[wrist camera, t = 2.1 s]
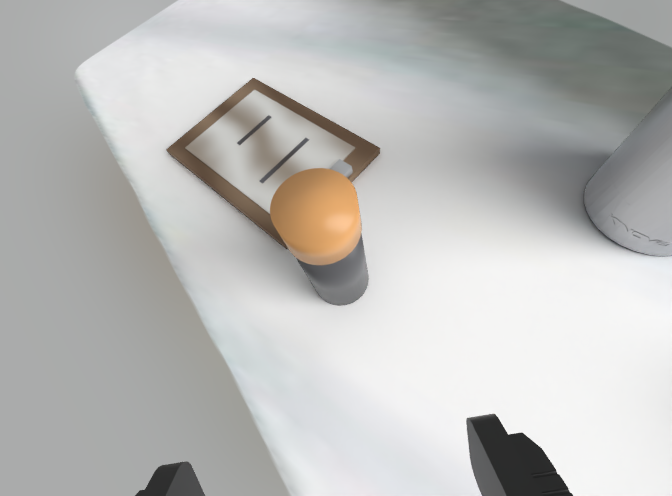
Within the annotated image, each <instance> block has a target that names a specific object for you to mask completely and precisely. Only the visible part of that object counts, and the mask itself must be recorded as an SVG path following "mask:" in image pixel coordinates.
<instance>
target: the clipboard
mask: <svg viewBox="0 0 672 496" xmlns="http://www.w3.org/2000/svg"><path fill="white" fill-rule="evenodd" d="M166 150H167V151H168V153H169V154H170V155H171V156H173V157H174V158H175V159H176V160H177V161H179V162H180V163H181V164H182V165H184V166H185V167H186V168H187V169H189V170H190V171H191V172H192V173H194V174H195V175H196V176H197V177H198V178H200V179H201V180H202V181H203V182H205V183H206V184H207V185H208V186H210V187H211V188H212V189H213V190H214V191H216V192H217V193H218V194H219V195H221V196H222V197H223V198H224V199H226V200H227V201H228V202H229V203H230V204H232V205H233V206H234V207H235V208H237V209H238V210H239V211H240V212H242V213H243V214H244V215H245V216H246V217H248V218H249V219H250V220H251V221H253V222H254V223H255V224H256V225H258V226H259V227H260V228H261V229H263V230H264V231H265V232H266V233H267V234H269V235H270V236H271V237H272V238H274V239H275V240H276V241H277V242H279V243H280V244H281V245H282V246H283V247H285V248H286V249H287V248H288V247H287V246H286V244H285V242H284V241H283V239H282V238H281V236H280V234H279V233H278V231H277V230H276V228H275V226H274V225H273V223H272V220H271V216H270V205H271V201H272V198H273V195H274V194H275V192H276V190H277V189H278V187H279V186H280V185H281V184H282V183H283V182H284V181H285V180H286V179H288V178H289V177H291V176H292V175H294V174H296V173H298V172H301V171H304V170H307V169H312V168H326V169H331V170H334V171H337V172H339V173H341V174H343V175H344V176H345V177H347V178H348V179H349V180H350V182H352V181H353V180H354V179H355V178H356V177H357V176H358V175H359V174H360V173H361V172H362V171H363V170H364V169H365V168H366V167H367V166H368V165H369V164H370V163H371V162H372V161H373V160H374V159H375V158H376V157H377V156H378V155H379V154H380V148H379V147H377V146H375V145H374V144H372V143H370V142H368V141H366V140H365V139H363V138H361V137H359V136H357V135H356V134H354V133H352V132H350V131H348V130H347V129H345V128H343V127H341V126H339V125H338V124H336V123H334V122H332V121H330V120H329V119H327V118H325V117H323V116H321V115H320V114H318V113H316V112H314V111H312V110H311V109H309V108H307V107H305V106H303V105H302V104H300V103H298V102H296V101H294V100H293V99H291V98H289V97H287V96H285V95H283V94H282V93H280V92H278V91H276V90H274V89H273V88H271V87H269V86H267V85H265V84H264V83H262V82H260V81H258V80H256V79H255V78H252V79H251V80H250V81H249V82H248V83H246V84H245V85H244V86H243V87H242V88H240V89H239V90H238V91H237V92H235V93H234V94H233V95H232V96H231V97H229V98H228V99H227V100H226V101H225V102H223V103H222V104H221V105H220V106H219V107H217V108H216V109H215V110H214V111H212V112H211V113H210V114H209V115H208V116H206V117H205V118H204V119H203V120H202V121H200V122H199V123H198V124H197V125H195V126H194V127H193V128H192V129H191V130H189V131H188V132H187V133H186V134H185V135H183V136H182V137H181V138H180V139H178V140H177V141H176V142H175V143H174V144H172V145H171V146H170V147H169V148H168V149H166Z"/></svg>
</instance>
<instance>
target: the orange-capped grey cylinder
mask: <svg viewBox="0 0 672 496" xmlns="http://www.w3.org/2000/svg"><path fill="white" fill-rule="evenodd" d="M270 216H271V220H272V223H273V225H274V226H275V228H276V230H277V231H278V233H279V234H280V236H281V238H282V239H283V241H284V242H285V244H286V246H287V247H288V249H289V250H290V252H291V253H292V254H293V255H294V256H295V257H296V259H297V260H298V262H299V264H300V265H301V267H302V268H303V270H304V272H305V273H306V275H307V276H308V278H309V280H310V281H311V283H312V285H313V286H314V288H315V289H316V291H317V293H318V294H319V296H320V297H321V298H322V299H323V300H325V301H326V302H328V303H330V304H333V305H347V304H350V303H353V302H355V301H356V300H358V299H359V298H360V297H361V296H362V295H363V294H364V292H365V290H366V288H367V285H368V271H367V265H366V259H365V253H364V246H363V240H362V234H361V230H362V225H361V218H360V212H359V206H358V199H357V194H356V190H355V188H354V186H353V184H352V183H351V182H350V180H349V179H348V178H347V177H345V176H344V175H343V174H341V173H339V172H337V171H334V170H331V169H326V168H312V169H307V170H304V171H301V172H298V173H296V174H294V175H292V176H291V177H289V178H288V179H286V180H285V181H284V182H283V183H282V184H281V185H280V186H279V187H278V189H277V190H276V192H275V194H274V195H273V198H272V201H271V205H270Z"/></svg>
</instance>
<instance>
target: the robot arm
mask: <svg viewBox="0 0 672 496" xmlns="http://www.w3.org/2000/svg"><path fill="white" fill-rule="evenodd" d="M584 203H585V207H586V211H587V213H588V215H589V217H590V219H591V220H592V222H593V223H594V224H595V225H596V226H597V228H598V229H599V230H600V231H601V232H603V233H604V234H605V235H606V236H607V237H608V238H610V239H611V240H613V241H615V242H616V243H618V244H620V245H621V246H624V247H626V248H628V249H631V250H633V251H636V252H640V253H644V254H648V255H656V256H672V87H671V88H670V89H669V90H668V91H667V93H666V94H665V95H664V96H663V97H662V98H661V99H660V101H659V102H658V103H657V104H656V105H655V106H654V107H653V109H652V110H651V111H650V112H649V113H648V114H647V115H646V116H645V118H644V119H643V120H642V121H641V122H640V123H639V124H638V126H637V127H636V128H635V129H634V130H633V131H632V132H631V134H630V135H629V136H628V137H627V138H626V139H625V140H624V142H623V143H622V144H621V145H620V146H619V147H618V148H617V149H616V150H615V151H614V153H613V154H612V155H611V156H610V157H609V158H608V159H607V161H606V162H605V163H604V164H603V165H602V166H601V167H600V169H599V170H598V171H597V172H596V173H595V174H594V175H593V177H592V178H591V179H590V181H589V182H588V183H587V186H586V189H585V191H584ZM466 422H467V432H468V442H469V452H470V460H471V465H472V469H473V472H474V476H475V479H476V482H477V484H478V487H479V489H480V492H481V494H482V496H573V495H572V493H570V492H569V490H568V487H567V486H566V484H565V483H564V481H563V480H562V478H561V477H560V475H559V474H557V472H556V469H555V468H554V466H553V465H552V463H551V462H550V460H549V459H548V457H547V456H546V454H545V453H544V451H543V450H542V448H540V447H539V446H538V445H537V444H535V443H534V442H533V441H532V440H531V439H529V438H528V437H527V436H526V435H525V434H523V433H516V434H510V435H508V434H507V432H506V430H505V429H504V427H503V425H502V424H501V422H500V420H499V419H498V417H497V416H496V415H495V414H489V415H483V416H477V417H470V418H467V421H466ZM135 496H205V494H204V492H203V490H202V488H201V486H200V484H199V481H198V479H197V477H196V475H195V472H194V470H193V468H192V466H191V464H190V463H189V462H180V463H174V464H168V465H162V466H160V467H158V469H157V470H156V471H155V472H154V474H153V476H152V478H151V480H150V481H149V483H148V485H147V487H146V489H145V490H140V491H139V492H138V493H137V494H136V495H135Z"/></svg>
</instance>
